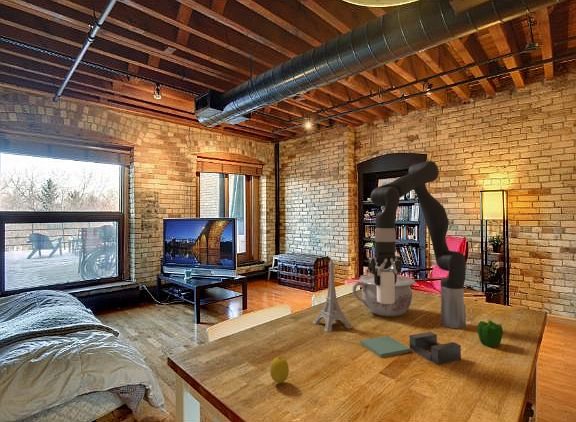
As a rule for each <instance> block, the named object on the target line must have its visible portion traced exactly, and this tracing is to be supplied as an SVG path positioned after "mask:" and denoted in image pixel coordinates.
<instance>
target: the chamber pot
mask: <svg viewBox="0 0 576 422" xmlns="http://www.w3.org/2000/svg"><path fill="white" fill-rule="evenodd" d="M415 284H416V280H414V279H413V278H411V277H408V276H403V275H397V282H396V284H395V302H394V303H393V304H381V303H378V301H377V285H376V284H375V283H374V274H368V275H364V276H361V277H359V279H358V280H357V281H356V282H354V283H353V286H352V291H351V292H352V294H353V296H354V298H356V299H357V300H358V301H360V302H361V303H363V305H364V306H365V307H366V308H367V309H368V310H369V312H371V313H372V314H375V315H378V316H381V317H388V318H392V317H399V316H402V315H404V314H406V313H407V311H408V309H409V308H410V307H411V305H412V302H413V301H412V300H413V290H412V288H411V286H413V285H415ZM358 286H360V287H361V296H362V298H361V297H360V296H359V295H358V294H357V287H358Z"/></svg>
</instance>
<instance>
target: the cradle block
mask: <svg viewBox="0 0 576 422" xmlns="http://www.w3.org/2000/svg"><path fill="white" fill-rule="evenodd" d="M437 337H438V335H437V333H434V332H433V331H428V332H421V333H414V334H410V335H409V348H411V351H413V352H414V353H415V354H417V355H419V356H420V357H422V358H424V359H426V360H428V361H430V362H432V363H434V364H436V365H437V366H440V365H444V364H448V363H453V362H457V361H461V360H462V352H461V351H462V346H461V345H460V344H459V343H456V342H453V341H451V342H447V343H439V342H438V338H437ZM428 350H430V351H428Z"/></svg>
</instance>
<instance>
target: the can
mask: <svg viewBox="0 0 576 422" xmlns="http://www.w3.org/2000/svg"><path fill="white" fill-rule="evenodd" d="M379 276H380V286H377V301H378V303H381V304H393V303H394V302H395V275H394V273H393V270H390V269H389V268H383V270H382V271H381V273H380V275H379Z"/></svg>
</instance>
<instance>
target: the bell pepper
mask: <svg viewBox="0 0 576 422" xmlns="http://www.w3.org/2000/svg"><path fill="white" fill-rule="evenodd" d="M476 328H477V335H478V339H479V342H480V343H481V344H483V345H485V346H487V347H491V348H496V347H498V346H499V345H500V344H501V342H502V339H503V333H504V331H503V329H504V328H503V327H502V324H499V323H495V322H494V321H493V320H491V319H487V322H486V321H482V320H481V321H479V322H478V324H477V326H476Z"/></svg>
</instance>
